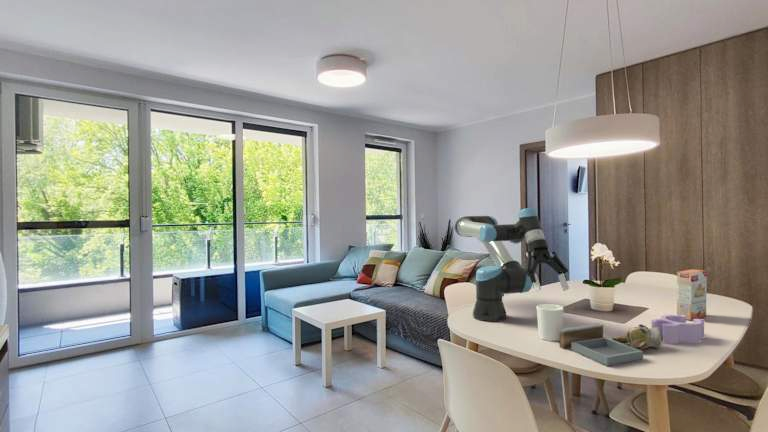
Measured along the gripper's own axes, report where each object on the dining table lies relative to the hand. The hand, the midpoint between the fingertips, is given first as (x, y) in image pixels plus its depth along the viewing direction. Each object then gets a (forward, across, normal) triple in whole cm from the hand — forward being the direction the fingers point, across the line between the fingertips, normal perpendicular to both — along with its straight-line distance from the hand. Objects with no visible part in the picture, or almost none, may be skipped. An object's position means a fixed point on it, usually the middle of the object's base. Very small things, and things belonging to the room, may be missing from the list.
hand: (552, 290), depth 154 cm
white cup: (+17, -3, +6) cm, 19 cm away
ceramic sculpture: (+26, +18, -12) cm, 34 cm away
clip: (+24, +40, -10) cm, 48 cm away
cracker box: (+14, +74, +3) cm, 75 cm away
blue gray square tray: (+27, +1, -13) cm, 30 cm away
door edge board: (+22, +2, -4) cm, 22 cm away
